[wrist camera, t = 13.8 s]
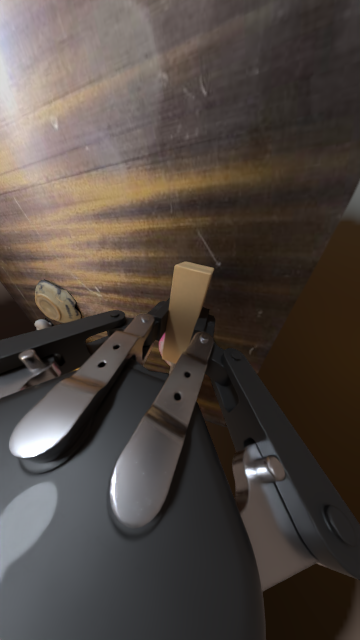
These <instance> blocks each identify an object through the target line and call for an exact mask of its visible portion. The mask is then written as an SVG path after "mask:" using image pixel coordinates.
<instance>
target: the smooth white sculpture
mask: <svg viewBox="0 0 360 640" xmlns="http://www.w3.org/2000/svg"><path fill="white" fill-rule="evenodd" d="M35 326H36V327H37V328H36V329H37V330H40V329H44V328H48V327H52V325H51V323H50V322H47V321H46V320H43V319H40V320H37V321H36V322H35Z"/></svg>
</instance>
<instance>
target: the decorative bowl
mask: <svg viewBox="0 0 360 640" xmlns="http://www.w3.org/2000/svg"><path fill="white" fill-rule="evenodd" d="M35 301H36V304H37V306H38V307H39V308H40V310H41V311H42V312H43V313H44V314H45V315H46V316H48V317H49V318H51V319H53V320H56V321H58V322H61V323H67V322H71V321H74V320H78V319H81V315H80V313H79V311H77V310H76V309H75V304H76V302H75V300H74V299H73V297H72V296H71V295H70V294H69V293H68V292H67V291H66V290H63V289H60V288H58V287H56V286H55V285H53V284H52V283H50V282H47V281H44V280H41V281H40V282H39V283H38V284H37V286H36V289H35Z"/></svg>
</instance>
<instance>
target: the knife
mask: <svg viewBox="0 0 360 640" xmlns="http://www.w3.org/2000/svg"><path fill="white" fill-rule="evenodd" d="M213 271H214V268H211V267H207V266H203V265H199V264H194V263H190V262H183V263H180V264H177V265H175V268H174V275H173V282H172V289H171V296H170V303H169V312H168V319H167V326H166V332H165V339H164V346H163V353H162V359H164V360H167V361H169V362H171V367H170V372H169V374H170V373H171V371H172V370H173V368H174V366H175V365H176V363H177V361H178V359H179V358H180V356H181V354H182V353H183V352H185V351H186V349H187V347H188V346H189V344H190V340H191V337H192V333H193V330H194V327H195V324H196V321H197V319H198V318H199V315H200V312H201V310H202V307H203V304H204V301H205V297H206V294H207V291H208V288H209V284H210V281H211V278H212V274H213Z"/></svg>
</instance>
